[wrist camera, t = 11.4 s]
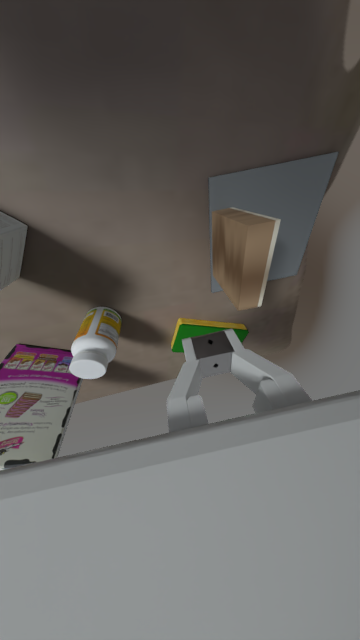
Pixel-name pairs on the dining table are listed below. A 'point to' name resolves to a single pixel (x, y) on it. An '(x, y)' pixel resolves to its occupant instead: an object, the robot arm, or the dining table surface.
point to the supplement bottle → (95, 343)
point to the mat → (276, 204)
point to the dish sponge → (202, 330)
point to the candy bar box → (35, 403)
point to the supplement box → (11, 248)
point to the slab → (243, 254)
